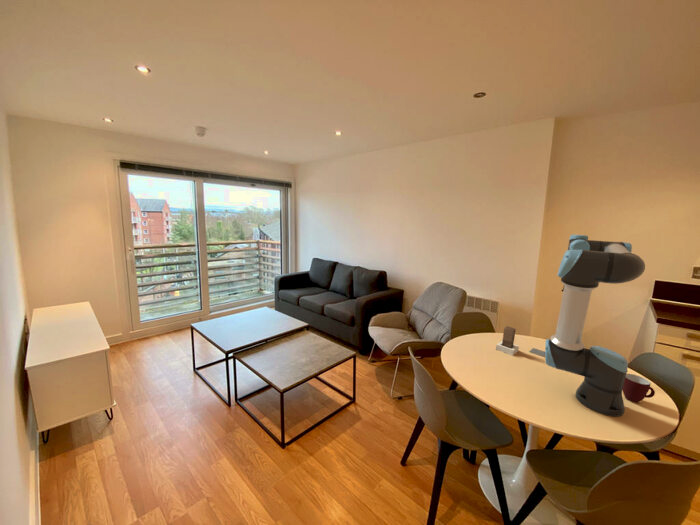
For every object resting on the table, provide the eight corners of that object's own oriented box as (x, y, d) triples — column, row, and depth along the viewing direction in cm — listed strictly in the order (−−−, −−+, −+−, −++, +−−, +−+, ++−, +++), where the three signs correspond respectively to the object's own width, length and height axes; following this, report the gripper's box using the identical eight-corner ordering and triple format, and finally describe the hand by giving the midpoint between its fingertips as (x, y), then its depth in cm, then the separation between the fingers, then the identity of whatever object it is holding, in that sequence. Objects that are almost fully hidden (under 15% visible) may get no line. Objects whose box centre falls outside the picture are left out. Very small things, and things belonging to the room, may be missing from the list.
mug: (641, 396, 120) (647, 375, 118) (658, 409, 112) (663, 387, 111) (614, 392, 122) (618, 372, 120) (628, 404, 114) (633, 383, 113)
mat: (543, 356, 152) (543, 356, 152) (529, 351, 158) (529, 351, 158) (547, 353, 157) (547, 352, 157) (533, 348, 162) (533, 347, 162)
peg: (509, 352, 156) (512, 330, 153) (501, 349, 159) (504, 327, 157) (512, 350, 159) (515, 328, 156) (504, 347, 162) (507, 326, 160)
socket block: (512, 355, 152) (513, 350, 152) (495, 349, 159) (496, 344, 159) (518, 350, 158) (519, 346, 158) (501, 345, 165) (502, 340, 164)
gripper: (578, 267, 135) (570, 307, 139) (587, 262, 152) (580, 299, 155) (559, 264, 141) (553, 303, 144) (570, 260, 157) (564, 296, 161)
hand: (567, 301), depth 150 cm, fingers open, 13 cm apart
